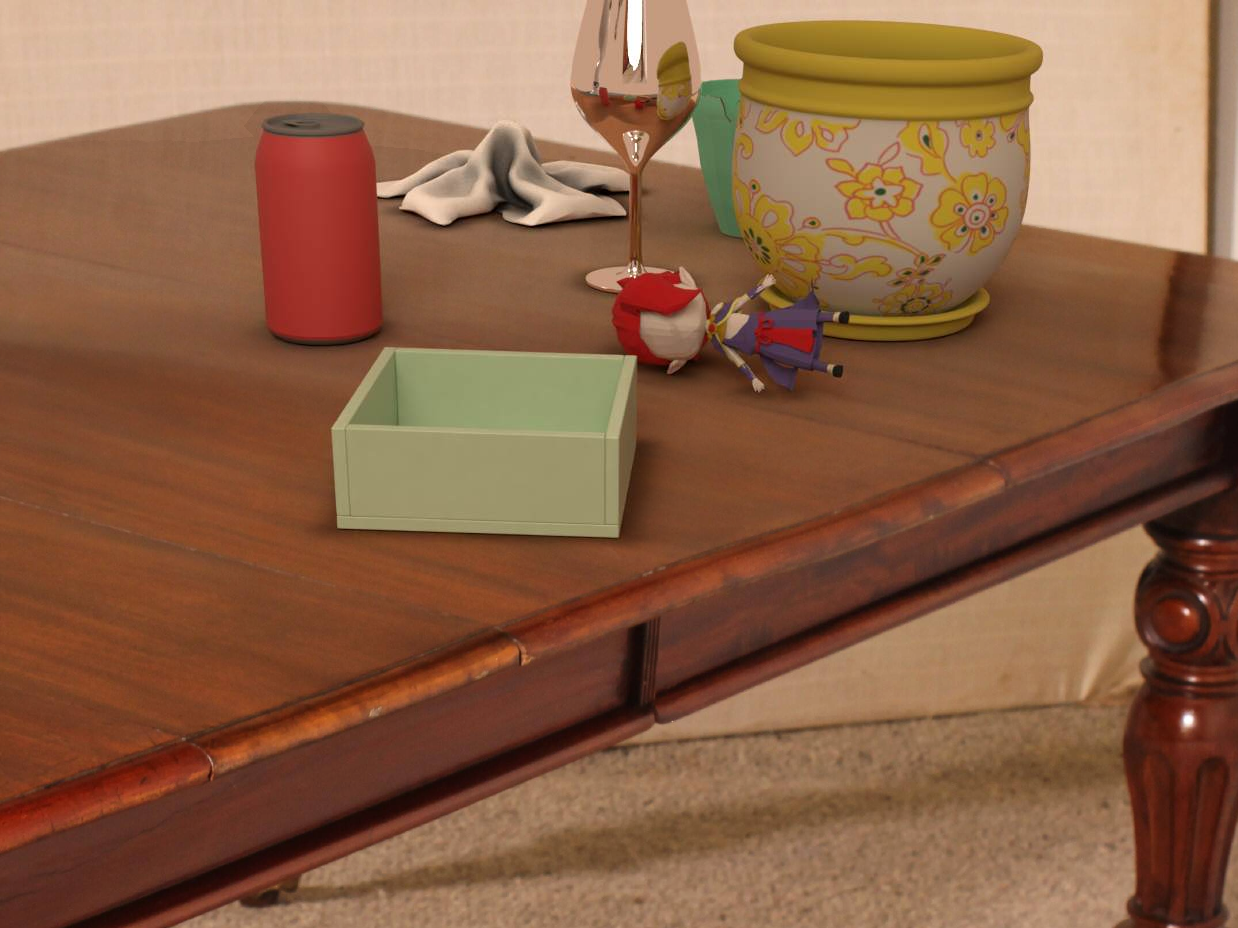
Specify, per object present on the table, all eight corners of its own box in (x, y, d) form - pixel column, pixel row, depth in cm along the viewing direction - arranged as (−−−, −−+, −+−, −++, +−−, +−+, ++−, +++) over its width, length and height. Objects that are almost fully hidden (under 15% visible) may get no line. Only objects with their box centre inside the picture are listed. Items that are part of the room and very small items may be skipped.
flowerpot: (894, 375, 105) (914, 71, 98) (665, 309, 116) (669, 32, 109) (1075, 318, 117) (1104, 45, 110) (852, 264, 128) (866, 12, 121)
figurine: (815, 408, 97) (558, 369, 102) (869, 399, 104) (627, 363, 110) (830, 282, 95) (568, 249, 101) (883, 282, 103) (637, 251, 108)
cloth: (638, 178, 152) (639, 100, 150) (648, 230, 135) (648, 143, 133) (358, 173, 150) (354, 94, 148) (332, 226, 133) (327, 138, 131)
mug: (694, 247, 131) (698, 100, 127) (678, 216, 140) (681, 77, 136) (900, 247, 133) (910, 102, 129) (872, 216, 142) (880, 80, 138)
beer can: (309, 311, 113) (295, 107, 108) (405, 326, 111) (395, 117, 106) (244, 339, 107) (226, 124, 102) (343, 354, 105) (331, 136, 100)
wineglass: (545, 279, 122) (542, -13, 114) (639, 260, 127) (641, -20, 120) (630, 305, 117) (632, 1, 109) (724, 284, 122) (732, -7, 115)
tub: (337, 528, 82) (331, 427, 80) (388, 437, 93) (384, 346, 91) (618, 538, 82) (619, 437, 80) (636, 445, 93) (637, 355, 91)
